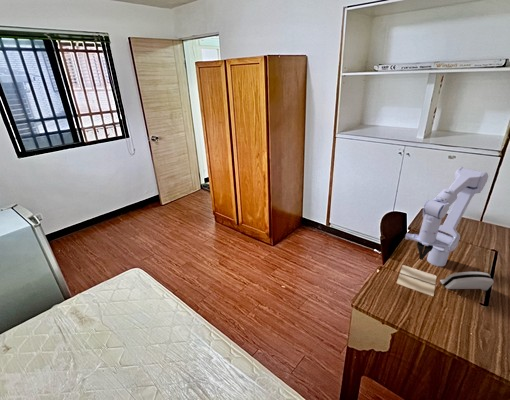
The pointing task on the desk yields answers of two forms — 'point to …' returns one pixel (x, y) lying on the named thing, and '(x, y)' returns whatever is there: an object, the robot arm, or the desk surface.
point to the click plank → (416, 285)
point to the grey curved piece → (468, 281)
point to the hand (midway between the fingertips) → (421, 258)
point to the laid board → (418, 275)
